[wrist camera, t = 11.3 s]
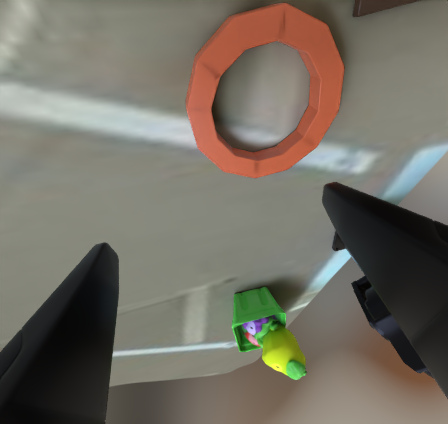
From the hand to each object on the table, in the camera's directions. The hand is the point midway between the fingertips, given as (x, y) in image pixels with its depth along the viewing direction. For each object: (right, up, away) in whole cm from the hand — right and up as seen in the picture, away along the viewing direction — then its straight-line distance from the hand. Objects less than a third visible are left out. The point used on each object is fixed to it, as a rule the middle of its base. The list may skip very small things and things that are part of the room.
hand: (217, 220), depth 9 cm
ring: (+3, +8, +8) cm, 12 cm away
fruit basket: (+5, -15, +29) cm, 33 cm away
